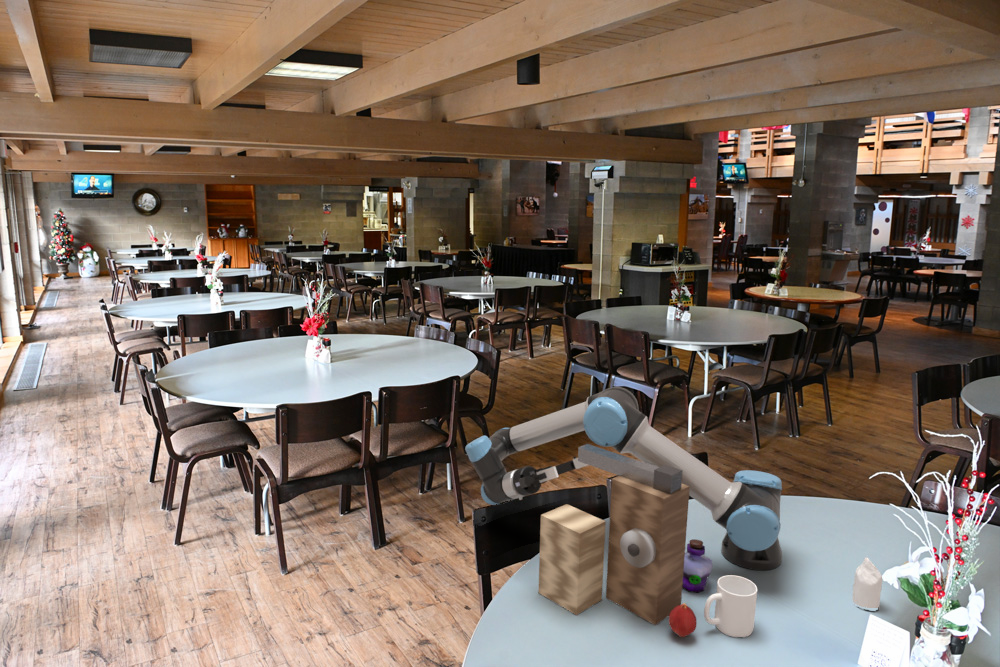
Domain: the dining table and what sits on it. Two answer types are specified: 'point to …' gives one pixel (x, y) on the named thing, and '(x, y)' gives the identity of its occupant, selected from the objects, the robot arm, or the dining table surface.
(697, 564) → the potion bottle
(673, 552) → the post
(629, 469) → the grey long bar
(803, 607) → the dining table surface
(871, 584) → the beige pointed piece
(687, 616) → the onion
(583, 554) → the oak block
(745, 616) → the cup
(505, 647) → the dining table surface
